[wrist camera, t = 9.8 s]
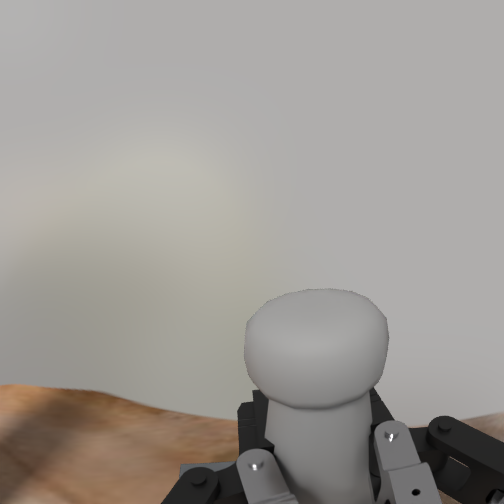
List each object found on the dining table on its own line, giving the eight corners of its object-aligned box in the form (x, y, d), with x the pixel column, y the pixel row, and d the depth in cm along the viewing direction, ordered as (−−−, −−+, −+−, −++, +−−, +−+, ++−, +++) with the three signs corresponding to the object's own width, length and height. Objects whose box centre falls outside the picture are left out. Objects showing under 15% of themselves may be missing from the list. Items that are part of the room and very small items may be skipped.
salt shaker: (246, 558, 10) (173, 353, 7) (271, 481, 15) (242, 275, 12) (367, 565, 8) (441, 351, 5) (371, 483, 14) (397, 267, 11)
